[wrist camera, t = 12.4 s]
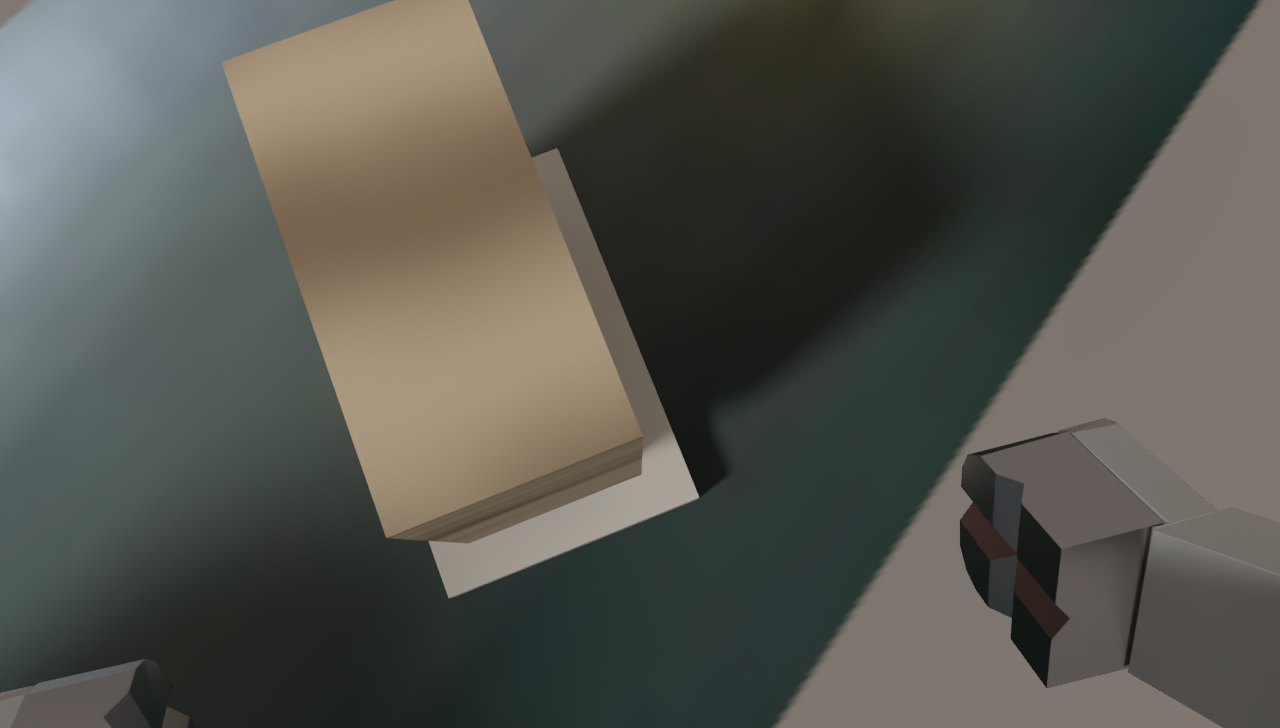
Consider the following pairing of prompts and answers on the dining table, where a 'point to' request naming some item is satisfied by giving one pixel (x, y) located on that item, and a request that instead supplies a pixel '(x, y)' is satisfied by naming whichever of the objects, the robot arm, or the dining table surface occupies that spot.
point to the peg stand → (661, 455)
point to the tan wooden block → (434, 272)
